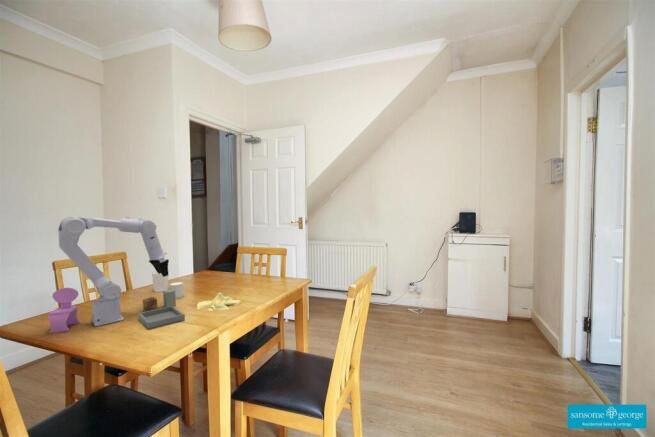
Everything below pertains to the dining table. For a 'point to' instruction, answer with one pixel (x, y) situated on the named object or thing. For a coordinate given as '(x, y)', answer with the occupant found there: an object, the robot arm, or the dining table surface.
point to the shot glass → (177, 289)
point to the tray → (161, 317)
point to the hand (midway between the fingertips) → (163, 274)
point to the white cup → (159, 282)
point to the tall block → (169, 298)
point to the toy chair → (63, 310)
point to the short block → (149, 304)
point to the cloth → (218, 303)
